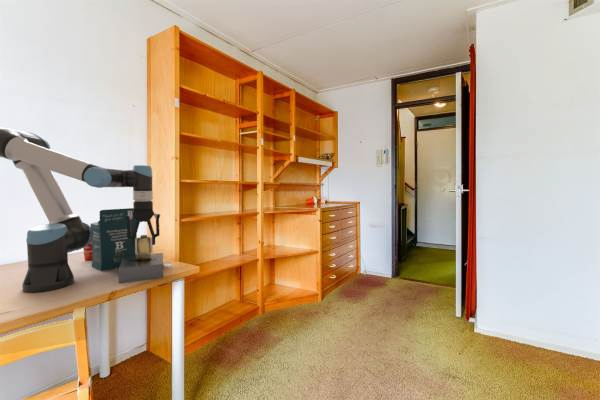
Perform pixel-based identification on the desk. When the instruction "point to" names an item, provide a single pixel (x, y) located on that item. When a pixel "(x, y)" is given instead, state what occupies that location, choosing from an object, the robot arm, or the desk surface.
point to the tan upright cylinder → (143, 248)
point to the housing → (141, 268)
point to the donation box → (112, 239)
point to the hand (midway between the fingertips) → (144, 252)
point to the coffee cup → (88, 252)
